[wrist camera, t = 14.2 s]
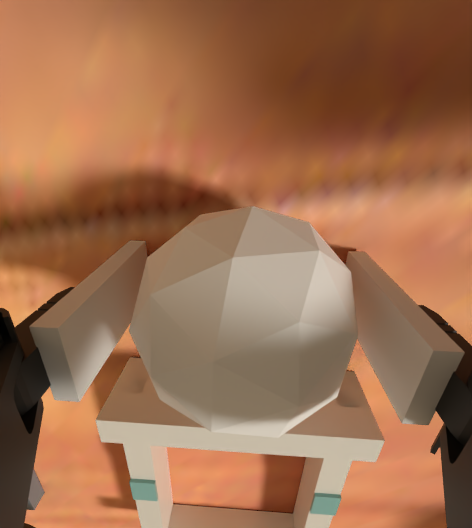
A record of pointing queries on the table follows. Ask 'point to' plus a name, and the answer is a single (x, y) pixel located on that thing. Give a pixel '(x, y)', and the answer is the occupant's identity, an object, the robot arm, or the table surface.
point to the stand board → (34, 492)
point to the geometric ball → (245, 321)
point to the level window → (197, 437)
